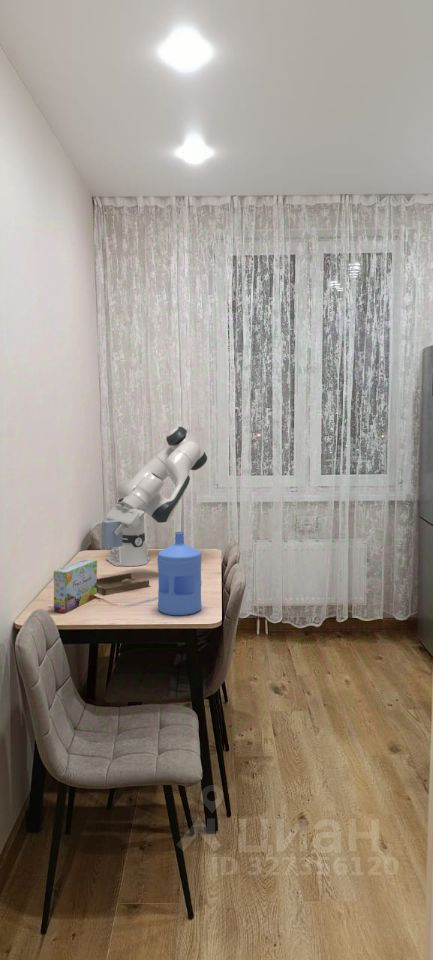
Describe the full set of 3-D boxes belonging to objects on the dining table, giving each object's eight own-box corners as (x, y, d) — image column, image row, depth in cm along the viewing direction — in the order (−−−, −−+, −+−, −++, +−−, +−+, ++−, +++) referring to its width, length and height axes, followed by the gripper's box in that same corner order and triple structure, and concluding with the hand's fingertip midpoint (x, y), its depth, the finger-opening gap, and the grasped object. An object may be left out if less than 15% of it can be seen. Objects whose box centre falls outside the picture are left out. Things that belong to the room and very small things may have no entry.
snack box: (66, 613, 226) (65, 571, 224) (53, 612, 228) (52, 570, 226) (98, 597, 245) (97, 558, 244) (85, 596, 247) (84, 557, 246)
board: (102, 546, 251) (102, 521, 250) (118, 544, 255) (118, 519, 254) (106, 548, 248) (106, 522, 247) (122, 546, 252) (122, 521, 251)
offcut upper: (121, 584, 258) (121, 580, 257) (126, 582, 260) (126, 578, 260) (132, 586, 255) (132, 582, 254) (137, 584, 257) (137, 580, 257)
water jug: (170, 601, 241) (169, 527, 238) (208, 605, 235) (208, 530, 232) (150, 613, 226) (149, 535, 223) (190, 618, 220) (190, 538, 217)
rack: (86, 590, 255) (86, 580, 254) (132, 582, 267) (132, 572, 267) (103, 599, 243) (103, 589, 242) (151, 590, 255) (151, 580, 255)
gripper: (152, 514, 249) (130, 542, 244) (126, 508, 265) (105, 533, 260) (142, 504, 246) (119, 532, 241) (116, 498, 262) (94, 524, 257)
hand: (111, 533), depth 251 cm, fingers closed on board, 3 cm apart
